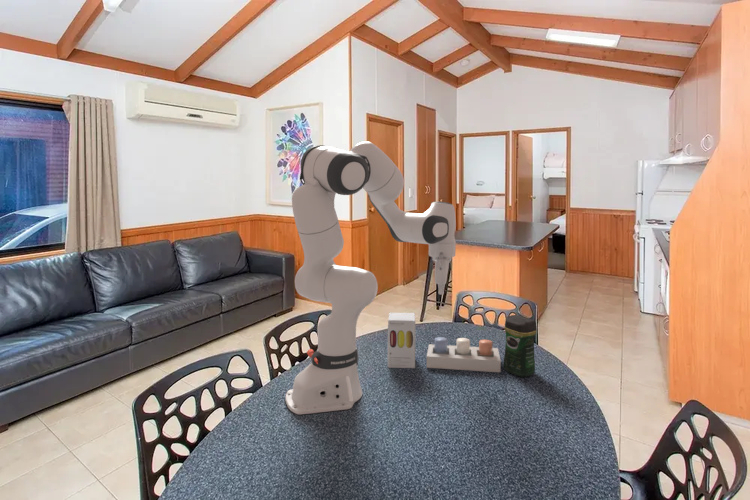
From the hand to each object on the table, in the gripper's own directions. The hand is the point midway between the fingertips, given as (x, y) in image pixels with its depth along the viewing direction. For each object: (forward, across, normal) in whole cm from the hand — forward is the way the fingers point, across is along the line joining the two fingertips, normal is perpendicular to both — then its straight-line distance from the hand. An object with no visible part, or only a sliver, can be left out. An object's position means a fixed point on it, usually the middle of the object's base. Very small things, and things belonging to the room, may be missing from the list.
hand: (441, 290), depth 148 cm
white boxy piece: (+25, 0, -7) cm, 26 cm away
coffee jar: (+26, -4, -25) cm, 36 cm away
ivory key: (+21, 0, -7) cm, 22 cm away
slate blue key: (+21, 0, 0) cm, 21 cm away
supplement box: (+26, -3, +14) cm, 29 cm away
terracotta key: (+21, 0, -15) cm, 26 cm away
